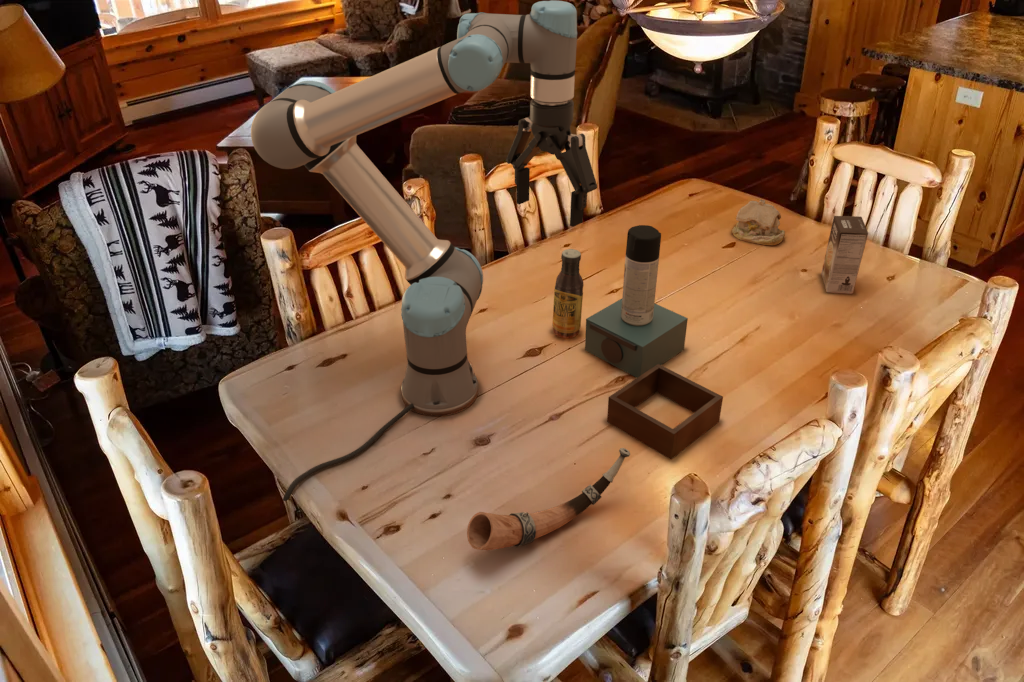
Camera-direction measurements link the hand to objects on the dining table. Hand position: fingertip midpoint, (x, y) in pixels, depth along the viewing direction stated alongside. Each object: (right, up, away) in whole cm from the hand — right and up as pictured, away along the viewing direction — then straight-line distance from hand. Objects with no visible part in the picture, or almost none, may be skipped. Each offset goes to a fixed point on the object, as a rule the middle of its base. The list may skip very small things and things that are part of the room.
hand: (548, 212), depth 150 cm
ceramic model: (+59, +5, +67) cm, 89 cm away
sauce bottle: (+5, -22, +29) cm, 37 cm away
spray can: (+19, -19, +18) cm, 33 cm away
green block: (+19, -26, +22) cm, 39 cm away
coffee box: (+71, -10, +44) cm, 85 cm away
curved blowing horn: (0, -54, -19) cm, 57 cm away
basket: (+22, -39, +2) cm, 45 cm away
